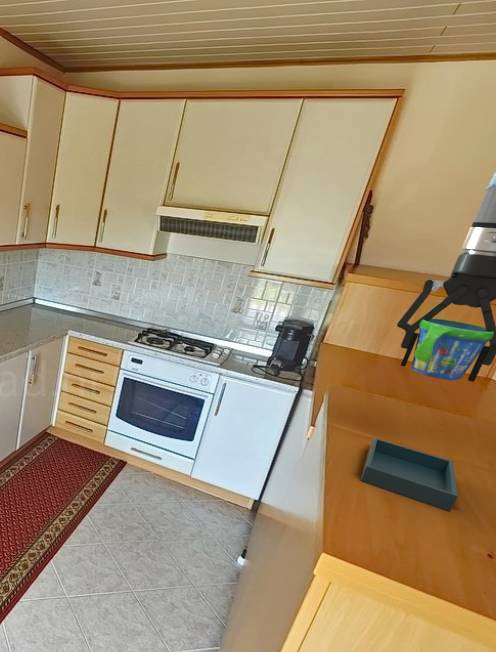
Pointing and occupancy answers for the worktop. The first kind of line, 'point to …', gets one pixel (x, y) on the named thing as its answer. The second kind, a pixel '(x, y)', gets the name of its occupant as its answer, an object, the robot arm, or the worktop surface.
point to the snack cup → (448, 348)
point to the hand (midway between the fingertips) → (435, 372)
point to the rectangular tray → (411, 474)
